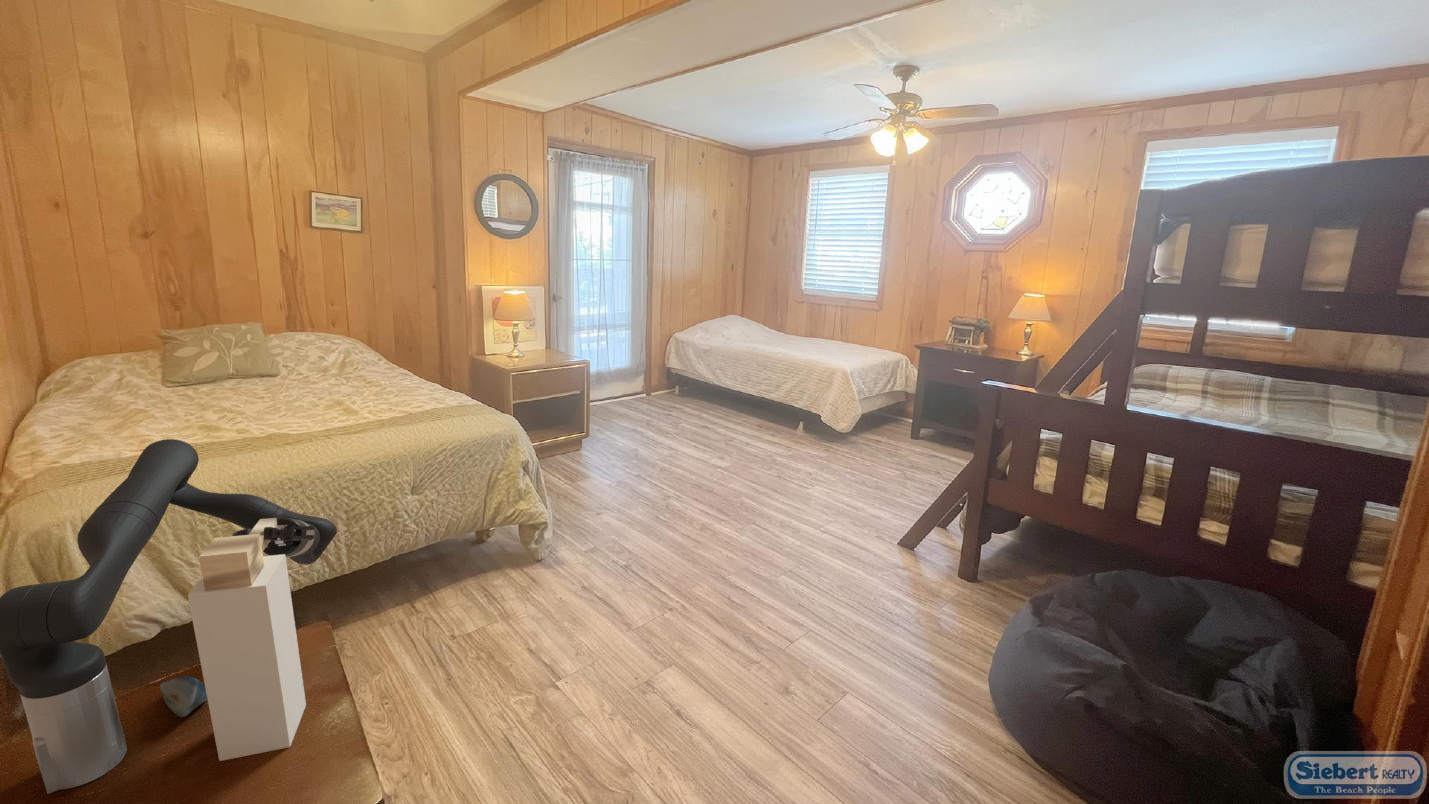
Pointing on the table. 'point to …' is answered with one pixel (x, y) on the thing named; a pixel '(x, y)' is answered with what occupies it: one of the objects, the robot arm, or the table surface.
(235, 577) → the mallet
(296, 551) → the robot arm
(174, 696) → the blue rounded lump
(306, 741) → the table surface
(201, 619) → the stand
